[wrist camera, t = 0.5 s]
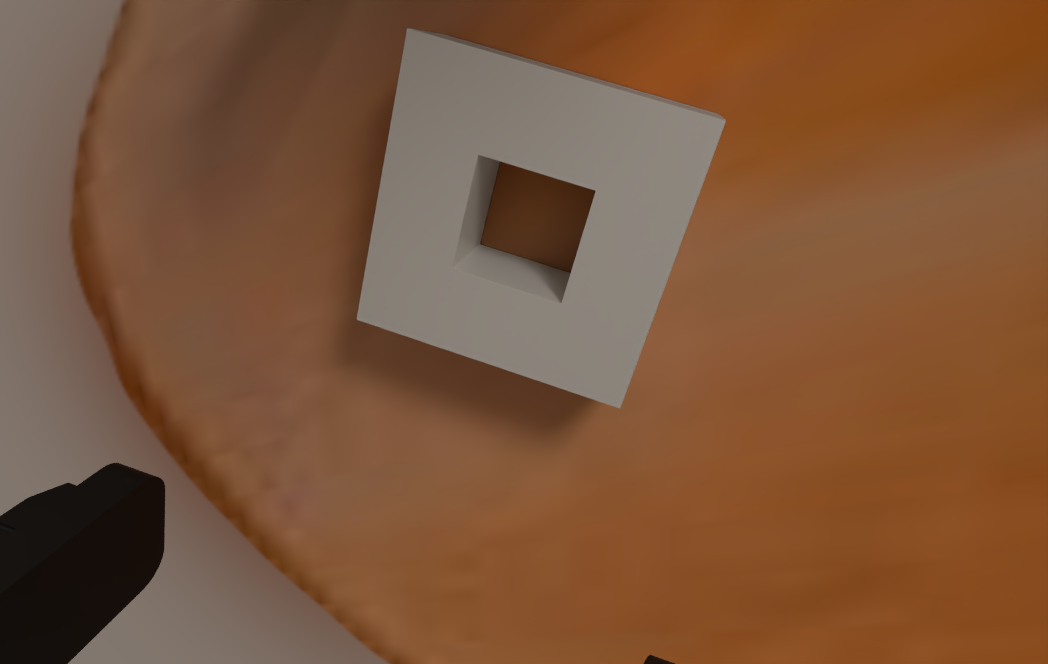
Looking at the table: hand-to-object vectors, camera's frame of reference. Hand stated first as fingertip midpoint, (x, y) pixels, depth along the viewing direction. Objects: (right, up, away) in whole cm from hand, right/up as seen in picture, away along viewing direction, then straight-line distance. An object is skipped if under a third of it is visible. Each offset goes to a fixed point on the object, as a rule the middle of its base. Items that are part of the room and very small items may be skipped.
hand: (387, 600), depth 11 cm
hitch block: (+3, +11, +25) cm, 27 cm away
